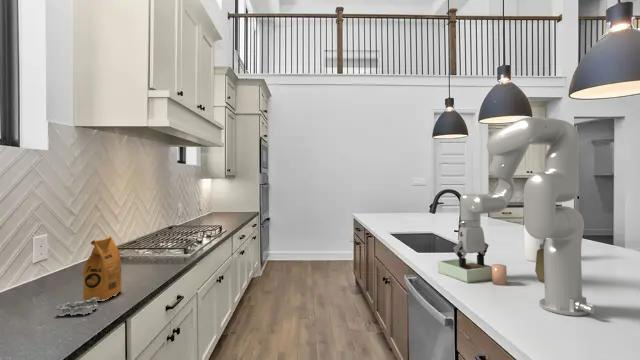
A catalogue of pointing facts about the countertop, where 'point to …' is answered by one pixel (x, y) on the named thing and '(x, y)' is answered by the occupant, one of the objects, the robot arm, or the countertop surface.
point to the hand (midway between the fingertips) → (471, 266)
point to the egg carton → (74, 306)
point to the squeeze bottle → (540, 262)
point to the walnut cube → (472, 266)
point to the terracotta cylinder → (499, 274)
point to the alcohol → (531, 246)
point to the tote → (464, 271)
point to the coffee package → (102, 270)
